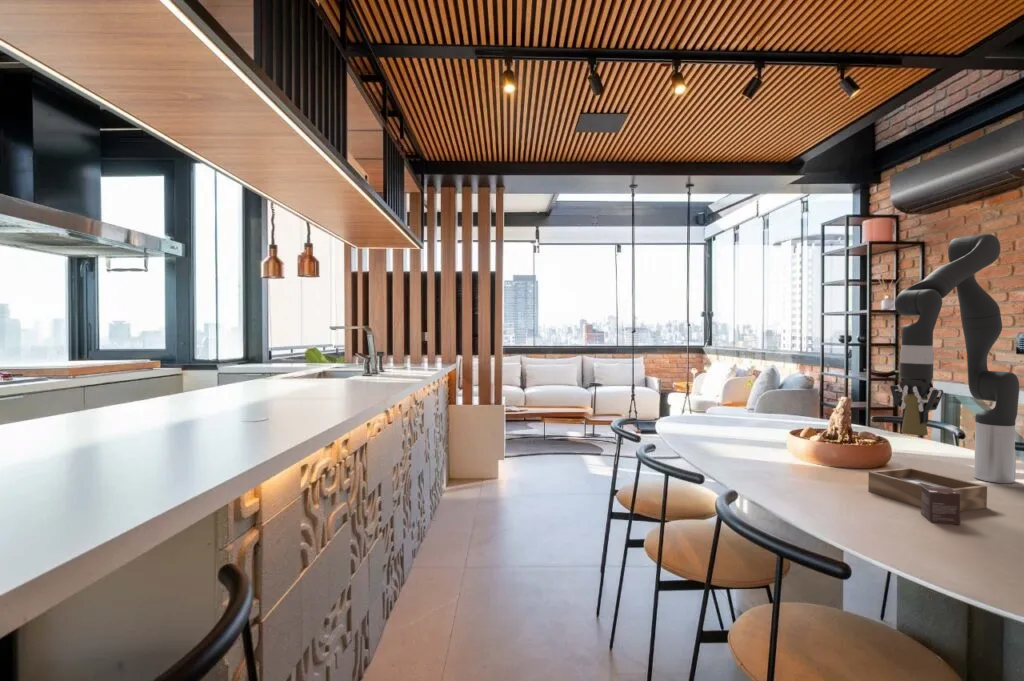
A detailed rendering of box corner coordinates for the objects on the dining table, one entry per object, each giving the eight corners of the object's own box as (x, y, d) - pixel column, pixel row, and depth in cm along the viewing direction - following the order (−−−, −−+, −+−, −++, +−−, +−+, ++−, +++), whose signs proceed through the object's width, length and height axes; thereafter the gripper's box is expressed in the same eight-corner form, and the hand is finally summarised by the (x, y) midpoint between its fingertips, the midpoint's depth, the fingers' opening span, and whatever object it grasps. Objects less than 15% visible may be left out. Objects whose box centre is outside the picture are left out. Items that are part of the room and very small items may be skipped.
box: (949, 517, 135) (950, 487, 135) (960, 525, 129) (961, 494, 129) (920, 514, 137) (920, 485, 137) (929, 522, 131) (930, 491, 131)
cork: (932, 435, 150) (933, 395, 150) (907, 434, 151) (908, 394, 151) (921, 431, 156) (922, 393, 155) (897, 430, 157) (898, 392, 157)
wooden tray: (910, 486, 161) (910, 467, 161) (986, 507, 142) (987, 486, 142) (868, 491, 156) (868, 471, 156) (941, 513, 137) (942, 491, 137)
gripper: (953, 363, 147) (951, 427, 147) (902, 360, 161) (901, 419, 161) (931, 363, 145) (930, 428, 145) (882, 360, 159) (880, 420, 159)
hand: (914, 423), depth 153 cm, fingers closed on cork, 3 cm apart
